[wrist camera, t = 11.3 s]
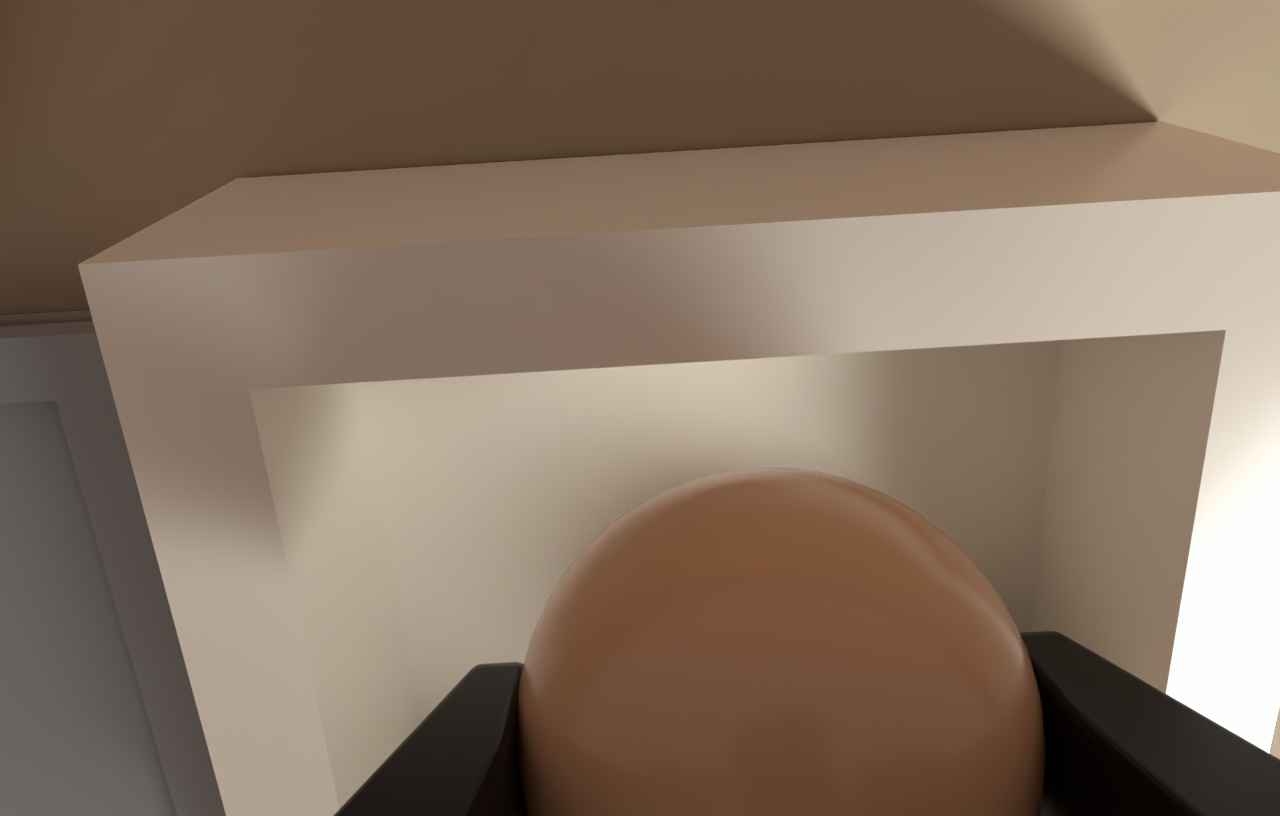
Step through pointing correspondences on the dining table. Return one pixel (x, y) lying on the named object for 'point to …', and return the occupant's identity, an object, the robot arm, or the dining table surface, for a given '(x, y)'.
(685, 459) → the stoneware dish
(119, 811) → the slate tray
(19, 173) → the dining table surface
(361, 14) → the dining table surface
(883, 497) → the orange tan ball
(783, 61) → the dining table surface
